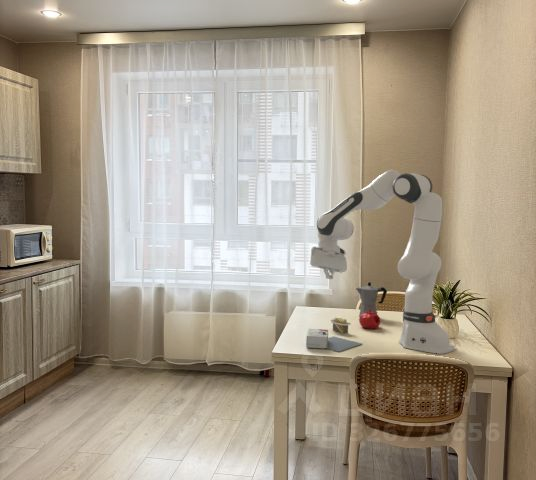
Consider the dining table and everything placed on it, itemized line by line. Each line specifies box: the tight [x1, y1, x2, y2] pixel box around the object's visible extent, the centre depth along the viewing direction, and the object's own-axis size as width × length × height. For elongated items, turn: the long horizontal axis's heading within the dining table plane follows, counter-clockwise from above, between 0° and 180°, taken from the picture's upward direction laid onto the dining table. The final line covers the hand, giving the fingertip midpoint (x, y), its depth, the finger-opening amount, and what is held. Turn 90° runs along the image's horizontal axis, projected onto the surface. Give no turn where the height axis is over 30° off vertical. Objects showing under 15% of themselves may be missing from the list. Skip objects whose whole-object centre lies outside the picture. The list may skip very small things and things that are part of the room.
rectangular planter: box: [330, 317, 352, 334], centre depth 249 cm, size 12×18×7 cm, turn 51°
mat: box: [326, 335, 363, 353], centre depth 229 cm, size 15×16×1 cm
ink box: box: [305, 328, 329, 349], centre depth 228 cm, size 9×5×12 cm
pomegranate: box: [358, 308, 382, 330], centre depth 258 cm, size 10×10×9 cm
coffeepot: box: [355, 281, 388, 318], centre depth 277 cm, size 15×9×18 cm, turn 87°
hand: (329, 278), depth 251 cm, fingers closed
